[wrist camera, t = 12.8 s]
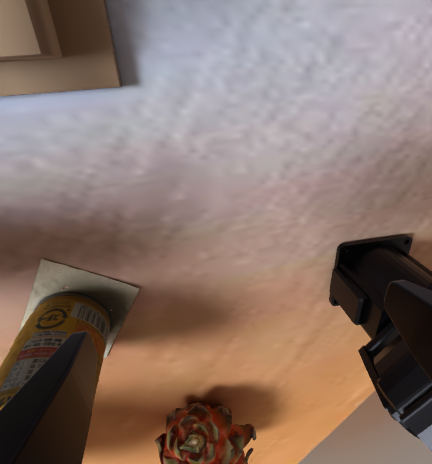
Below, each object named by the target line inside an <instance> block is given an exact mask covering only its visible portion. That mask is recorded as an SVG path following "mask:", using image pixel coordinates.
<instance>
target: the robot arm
mask: <svg viewBox="0 0 432 464" xmlns="http://www.w3.org/2000/svg"><path fill="white" fill-rule="evenodd" d="M411 243H412V238H411V237H410V236H408V235H399V236H392V237H385V238H378V239H371V240H364V241H357V242H350V243H343V244H341V245H339V246H338V248H337V253H336V259H335V265H334V269H333V272H332V279H331V285H330V297H329V301H330V303H331V304H332V305H333V306H338V305H340V306H341V307H342V309H343V310H344V311H345V313H346V314H347V315H348V317H349V318H350V319H351V321H352V322H353V323H354V324H355V325H361V326H362V328H363V329H364V330H365V331H366V333H367V334H368V335H369V337H370V338H371V339H372V340H371V341H370V342H369V343H368V344H366V345H365V346H362V347H361V348H360V349H359V350H358V351H359V353H360V356H361V358H362V360H363V363H364V365H365V367H366V370H367V372H368V374H369V376H370V378H371V380H372V383H373V385H374V387H375V389H376V391H377V393H378V396H379V398H380V400H381V402H382V404H383V406H384V408H385V409H386V410H387V411H388V412H389V414H390V415H391V417H392V418H393V419H394V420H396V421H398V422H399V423H400V424H401V425H402V426H403V427H404V428H405V429H406V430H408V431H409V432H410V433H411V434H412V435H414V436H416V437H417V438H419V439H421V440H422V441H423V442H424V443H425V444H426V446H427V447H428V448H429V449H430V450H431V451H432V271H430V270H429V269H428V268H426V267H425V266H424V265H422V264H421V263H419V262H418V261H417V260H415V259H414V258H413V257H411V256H410V255H409V254H408V253H409V250H410V247H411ZM343 249H345V250H344V251H343ZM96 367H97V350H96V348H95V345H94V342H93V340H92V337H91V335H90V333H89V332H88V331H81V332H75V333H72V334H71V335H70V336H69V337H68V338H67V339H66V340H65V341H64V342H63V343H62V344H61V345H60V347H59V348H58V349H57V350H56V351H55V352H54V353H53V354H52V355H51V356H50V357H49V358H48V359H47V360H46V362H45V363H44V364H43V365H42V366H41V367H40V368H39V369H38V370H37V371H36V372H35V373H34V374H33V375H32V376H31V378H30V379H29V380H28V381H27V382H26V383H25V384H24V385H23V386H22V387H21V388H20V389H19V390H18V391H17V393H16V394H15V395H14V396H13V397H12V398H11V399H10V400H9V401H8V402H7V403H6V404H5V405H4V406H3V407H2V409H1V410H0V464H82V459H83V454H84V450H85V445H86V440H87V435H88V431H89V426H90V420H91V415H92V407H93V397H94V387H95V377H96Z"/></svg>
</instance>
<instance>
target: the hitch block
mask: <svg viewBox="0 0 432 464" xmlns="http://www.w3.org/2000/svg"><path fill="white" fill-rule="evenodd" d="M121 86H122V83H121V78H120V73H119V68H118V63H117V58H116V53H115V47H114V42H113V37H112V32H111V27H110V22H109V17H108V12H107V7H106V2H105V0H0V96H9V95H22V94H34V93H47V92H60V91H73V90H85V89H98V88H111V87H121Z"/></svg>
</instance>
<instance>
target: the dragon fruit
mask: <svg viewBox="0 0 432 464" xmlns="http://www.w3.org/2000/svg"><path fill="white" fill-rule="evenodd" d="M231 419H232V416H231V410H230V409H229V408H227V407H224V406H222V405H219V406H216V407H214V408H212V409H211V408H210V406H209V405H208V404H205V403H200V402H199V403H193V404H188V405H187V407H186V408H185V410H184V409H180V408H176V409H175V410H173V411H172V412H171V413H170V414H169V415H167V421H166V434H164V433H163V434H162V435H161V436H160V437H159V438H157V439H156V440H155V442H156V443H157V445H158V450H159V457H160V462H161V464H248V462H247V461H248V458H249V456H250V454H251V453H252V451H253V448H251V449H249V450H248V452H247V454H246V457H245V455H244V451H243V448H244V447H245V446H246V445H247V444H248V443H249V441H250V440H251V438H253V440H256V431H255V428H254V426H252V425H251V424H246V425H244V426H243V425H233V424H232V423H231Z"/></svg>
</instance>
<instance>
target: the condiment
mask: <svg viewBox="0 0 432 464" xmlns="http://www.w3.org/2000/svg"><path fill="white" fill-rule="evenodd" d="M65 286H69V287H68V288H64V287H65ZM62 288H63V289H64V290H62V291H60V289H62ZM138 291H139V288H136V287H133V286H130V285H128V284H125V283H122V282H119V281H116V280H112V279H109V278H107V277H103V276H100V275H96V274H93V273H90V272H87V271H85V270H79V269H75V268H71V267H68V266H66V265H63V264H58V263H54V262H50V261H47V260H44V259H41V262H40V265H39V268H38V272H37V275H36V278H35V281H34V285H33V288H32V291H31V294H30V298H29V301H28V305H27V308H26V311H25V314H24V317H23V321H22V324H21V327H20V330H19V333H18V336H17V337H16V339H15V341H14V343H13V345H12V347H11V348H10V351H9V353H8V355H7V356H6V358H5V359H4V361H3V363H2V365H1V367H0V410H1V409H2V407H3V406H4V405H5V404H6V403H7V402H8V401H9V400H10V399H11V398H12V397H13V396H14V395H15V394H16V393H17V391H18V390H19V389H20V388H21V387H22V386H23V385H24V384H25V383H26V382H27V381H28V380H29V379H30V378H31V376H32V375H33V374H34V373H35V372H36V371H37V370H38V369H39V368H40V367H41V366H42V365H43V364H44V363H45V362H46V360H47V359H48V358H49V357H50V356H51V355H52V354H53V353H54V352H55V351H56V350H57V349H58V348H59V347H60V345H61V344H62V343H63V342H64V341H65V340H66V339H67V338H68V337H69V336H70V335H71V334H72V333H75V332H81V331H88V332H89V333H90V335H91V337H92V340H93V342H94V345H95V348H96V350H97V367H96V377H95V387H94V397H95V393H96V388H97V384H98V381H99V375H100V370H101V366H102V362H103V358H106V356H107V354H108V352H109V350H110V348H111V346H112V344H113V342H114V340H115V338H116V336H117V334H118V332H119V329H120V328H121V326H122V323H123V322H124V320H125V318H126V316H127V313H128V312H129V309H130V307H131V305H132V303H133V301H134V299H135V298H136V295H137V293H138ZM111 309H112V311H111ZM94 397H93V401H94Z"/></svg>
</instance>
